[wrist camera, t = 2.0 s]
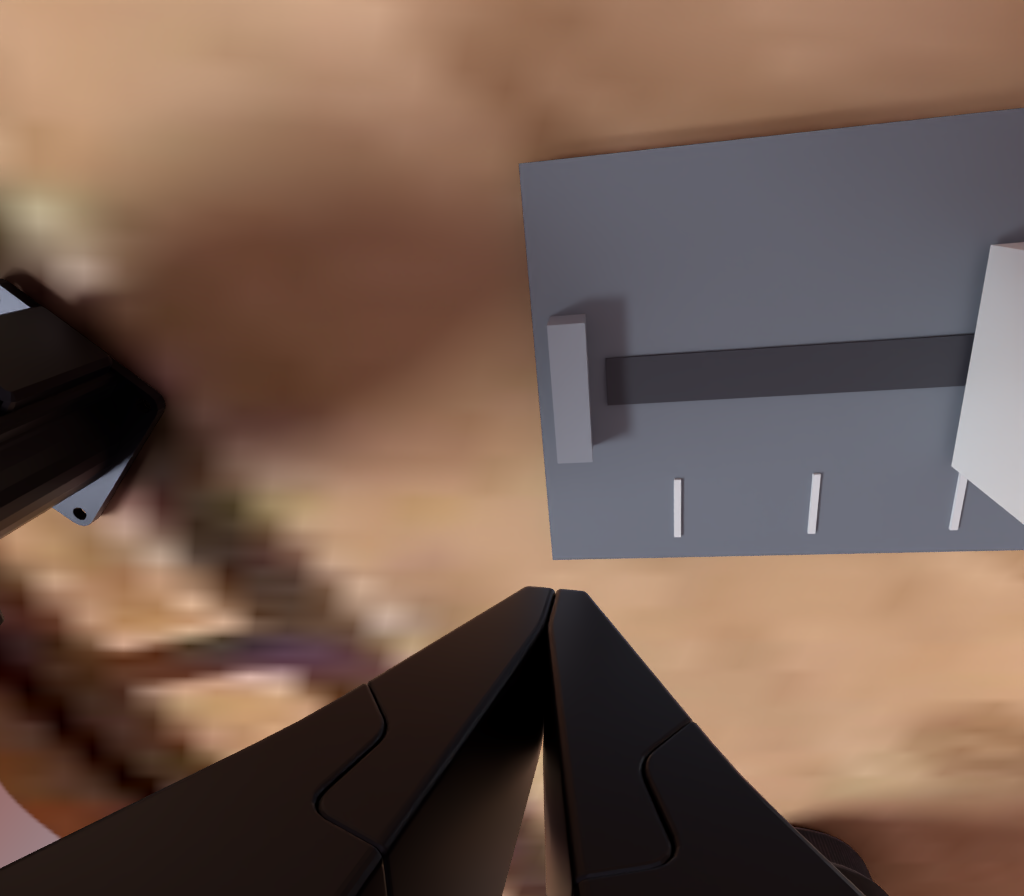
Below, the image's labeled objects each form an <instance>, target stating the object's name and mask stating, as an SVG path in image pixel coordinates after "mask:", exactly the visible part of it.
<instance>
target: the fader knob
mask: <svg viewBox="0 0 1024 896" xmlns="http://www.w3.org/2000/svg"><path fill="white" fill-rule="evenodd" d="M951 466H952V467H953V468H954V469H955V470H957V471H958V472H959V473H960V474H962V475H963V476H964V477H965V478H967V479H968V480H969V481H970V482H971V483H973V484H974V485H975V486H976V487H978V488H979V489H980V490H981V491H983V492H984V493H985V494H986V495H988V496H989V497H990V498H991V499H993V500H994V501H995V502H996V503H998V504H999V505H1000V506H1001V507H1003V508H1004V509H1005V510H1006V511H1008V512H1009V513H1010V514H1011V515H1013V516H1014V517H1015V518H1016V519H1017V520H1019V521H1020V522H1021V523H1022V524H1024V242H1018V243H1006V244H995V245H991V246H990V252H989V258H988V263H987V269H986V274H985V280H984V286H983V291H982V297H981V303H980V308H979V314H978V319H977V325H976V331H975V336H974V342H973V347H972V353H971V359H970V364H969V370H968V375H967V381H966V387H965V392H964V398H963V403H962V409H961V415H960V420H959V426H958V431H957V437H956V443H955V448H954V454H953V459H952V465H951Z"/></svg>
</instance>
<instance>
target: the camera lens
mask: <svg viewBox="0 0 1024 896" xmlns="http://www.w3.org/2000/svg"><path fill="white" fill-rule="evenodd" d="M794 828H795V829H796V830H797V831H798V832H799V833H800V834H801V835H802V836H803V837H804V838H805V839H807V840H808V841H809V842H810V843H811V844H812V845H813V846H814V847H815V848H816V849H817V850H818V851H819V852H820V853H821V854H822V855H823V856H824V857H825V858H826V859H827V860H828V861H830V862H831V863H832V864H833V865H834V866H835V867H836V868H837V869H838V870H839V871H840V872H841V873H842V874H843V875H844V876H845V877H846V878H847V879H848V880H849V881H850V882H851V883H853V884H854V885H855V886H856V887H857V888H858V889H859V890H860V891H861V892H862V893H863V894H864V895H865V896H888V895H887V894H886V892H885V891H884V890H882V889H881V888H880V887H879V886H878V885H877V884H876V883H874V882H873V881H872V878H871V876H870V874H869V872H868V869H867V867H866V865H865V863H864V862H863V860H862V859H861V857H860V856H859V855H858V854H857V853H856V852H855V851H854V850H853V849H852V848H851V847H850V846H849V845H847V844H846V843H844V842H843V841H841V840H839V839H837V838H835V837H833V836H831V835H828V834H825V833H822V832H818V831H814V830H810V829H804V828H798V827H794Z"/></svg>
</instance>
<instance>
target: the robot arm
mask: <svg viewBox="0 0 1024 896" xmlns="http://www.w3.org/2000/svg"><path fill="white" fill-rule="evenodd" d="M144 399H145V400H147V401H148V402H149V404H150V406H151V409H150V408H148V407H147V406H146V405H145V404H144ZM164 409H165V401H164V399H163V397H162V396H161V395H160V394H159V393H158V392H157V391H156V390H155V389H153V388H152V387H151V386H149V385H148V384H147V383H145V382H144V381H143V380H141V379H140V378H138V377H137V376H136V375H134V374H133V373H132V372H130V371H129V370H128V369H126V368H125V367H123V366H122V365H121V364H119V363H118V362H117V361H115V360H114V359H113V358H111V357H110V356H109V355H108V354H107V353H106V352H104V351H103V350H102V349H100V348H99V347H97V346H96V345H95V344H93V343H92V342H91V341H89V340H88V339H87V338H85V337H84V336H83V335H81V334H80V333H78V332H77V331H76V330H74V329H73V328H72V327H70V326H69V325H68V324H66V323H65V322H64V321H62V320H61V319H59V318H58V317H57V316H55V315H54V314H53V313H51V312H50V311H49V310H47V309H46V308H44V307H42V306H41V305H39V304H38V303H37V302H35V301H34V300H32V299H31V298H30V297H28V296H27V295H26V294H24V293H23V292H22V291H20V290H19V289H17V288H16V287H15V286H13V285H12V284H11V283H9V282H8V281H6V280H4V279H0V539H1V538H3V537H5V536H6V535H8V534H10V533H11V532H13V531H14V530H16V529H18V528H19V527H21V526H23V525H24V524H26V523H27V522H29V521H31V520H32V519H34V518H36V517H37V516H39V515H41V514H42V513H44V512H45V511H47V510H49V509H50V508H54V509H55V510H57V511H58V512H60V513H61V514H63V515H64V516H65V517H67V518H68V519H70V520H71V521H73V522H74V523H76V524H78V525H82V526H86V525H89V524H91V523H92V522H94V521H95V520H97V519H98V518H99V517H100V515H101V514H102V512H103V510H104V509H105V507H106V505H107V504H108V502H109V501H110V499H111V497H112V496H113V494H114V492H115V491H116V489H117V487H118V486H119V484H120V482H121V481H122V479H123V478H124V476H125V474H126V473H127V471H128V469H129V468H130V466H131V464H132V463H133V461H134V459H135V458H136V456H137V455H138V453H139V451H140V450H141V448H142V446H143V445H144V443H145V441H146V440H147V438H148V436H149V435H150V433H151V432H152V430H153V428H154V427H155V425H156V423H157V422H158V420H159V418H160V417H161V415H162V413H163V412H164ZM82 509H83V510H84V511H85V512H86V513H84V512H83V511H82ZM3 621H4V616H3V614H2V612H1V610H0V625H1V623H2V622H3ZM543 733H544V736H543ZM542 740H543V778H544V820H545V862H546V896H865V895H864V894H863V893H862V892H861V891H860V890H859V889H858V888H857V887H856V886H855V885H854V884H853V883H851V882H850V881H849V880H848V879H847V878H846V877H845V876H844V875H843V874H842V873H841V872H840V871H839V870H838V869H837V868H836V867H835V866H834V865H833V864H832V863H831V862H830V861H828V860H827V859H826V858H825V857H824V856H823V855H822V854H821V853H820V852H819V851H818V850H817V849H816V848H815V847H814V846H813V845H812V844H811V843H810V842H809V841H808V840H807V839H805V838H804V837H803V836H802V835H801V834H800V833H799V832H798V831H797V830H796V829H795V828H794V827H793V826H792V825H791V824H790V823H789V822H788V821H787V820H786V819H785V818H784V817H782V816H781V815H780V814H779V813H778V812H777V811H776V810H775V809H774V808H773V807H772V806H771V805H770V804H769V803H768V802H767V801H766V800H765V799H764V798H763V796H762V795H761V794H760V793H759V792H758V791H757V790H756V789H755V788H754V787H753V786H752V785H751V784H750V783H749V782H748V781H747V780H746V779H745V778H744V777H743V776H742V775H741V774H740V773H739V772H738V771H737V770H736V769H735V768H734V766H733V765H732V764H731V763H730V762H729V761H728V760H727V759H726V757H725V756H724V755H723V754H722V753H721V752H720V751H719V750H718V748H717V747H716V746H715V745H714V744H713V743H712V742H711V740H710V739H709V738H708V737H707V736H706V734H705V733H704V732H703V731H702V730H701V728H700V727H699V726H698V725H697V724H696V723H694V722H693V721H692V719H691V718H690V717H689V716H688V714H687V713H686V712H685V711H684V710H683V708H682V707H681V706H680V705H679V704H678V702H677V701H676V700H675V699H674V698H673V696H672V695H671V694H670V693H669V692H668V690H667V689H666V688H665V687H664V686H663V684H662V683H661V682H660V681H659V679H658V678H657V677H656V676H655V675H654V673H653V672H652V671H651V670H650V669H649V667H648V666H647V665H646V664H645V663H644V661H643V660H642V659H641V658H640V657H639V655H638V654H637V653H636V652H635V651H634V649H633V648H632V647H631V646H630V645H629V643H628V642H627V641H626V640H625V639H624V637H623V636H622V635H621V634H620V632H619V631H618V630H617V629H616V628H615V626H614V625H613V624H612V623H611V622H610V620H609V619H608V618H607V617H606V616H605V614H604V613H603V612H602V611H601V610H600V608H599V607H598V606H597V605H596V604H595V602H594V601H593V600H592V599H591V598H590V596H589V595H588V594H587V593H586V592H584V591H577V590H566V589H559V590H557V592H556V594H555V592H554V590H553V589H551V588H544V587H533V586H527V587H524V588H523V589H521V590H519V591H518V592H516V593H514V594H513V595H511V596H509V597H508V598H506V599H504V600H503V601H501V602H499V603H498V604H496V605H494V606H493V607H491V608H490V609H488V610H486V611H485V612H483V613H481V614H480V615H478V616H476V617H475V618H473V619H471V620H470V621H468V622H466V623H465V624H463V625H461V626H460V627H458V628H456V629H455V630H453V631H452V632H450V633H448V634H447V635H445V636H443V637H442V638H440V639H438V640H437V641H435V642H433V643H432V644H430V645H428V646H427V647H425V648H423V649H422V650H420V651H418V652H417V653H415V654H414V655H412V656H410V657H409V658H407V659H405V660H404V661H402V662H400V663H399V664H397V665H395V666H394V667H392V668H390V669H389V670H387V671H385V672H384V673H382V674H380V675H379V676H377V677H376V678H374V679H372V680H371V681H369V682H368V684H362V685H360V686H358V687H357V688H355V689H354V690H352V691H350V692H349V693H347V694H345V695H344V696H342V697H340V698H338V699H337V700H335V701H333V702H331V703H330V704H328V705H326V706H324V707H323V708H321V709H319V710H317V711H316V712H314V713H312V714H310V715H309V716H307V717H305V718H303V719H302V720H300V721H298V722H296V723H294V724H292V725H290V726H288V727H286V728H284V729H282V730H280V731H278V732H276V733H274V734H272V735H270V736H269V737H267V738H265V739H263V740H261V741H259V742H257V743H255V744H253V745H251V746H249V747H247V748H245V749H243V750H241V751H239V752H237V753H235V754H233V755H230V756H228V757H226V758H224V759H222V760H220V761H218V762H216V763H214V764H212V765H210V766H208V767H206V768H204V769H202V770H200V771H198V772H196V773H194V774H192V775H190V776H188V777H186V778H184V779H182V780H180V781H177V782H175V783H173V784H171V785H169V786H167V787H165V788H163V789H161V790H159V791H157V792H155V793H153V794H151V795H149V796H147V797H145V798H143V799H141V800H139V801H137V802H135V803H133V804H131V805H129V806H126V807H124V808H122V809H120V810H118V811H116V812H114V813H112V814H110V815H108V816H106V817H104V818H102V819H100V820H98V821H96V822H94V823H92V824H90V825H88V826H86V827H84V828H82V829H80V830H78V831H76V832H73V833H71V834H69V835H67V836H65V837H63V838H61V839H59V840H57V841H55V842H53V843H52V844H49V845H47V846H45V847H43V848H41V849H39V850H37V851H35V852H33V853H31V854H29V855H27V856H25V857H23V858H21V859H18V860H16V861H14V862H12V863H10V864H8V865H6V866H4V867H2V868H0V896H502V893H503V889H504V886H505V882H506V878H507V875H508V871H509V867H510V863H511V860H512V856H513V852H514V848H515V845H516V841H517V837H518V834H519V830H520V826H521V822H522V819H523V815H524V811H525V807H526V804H527V800H528V796H529V793H530V789H531V785H532V781H533V778H534V774H535V770H536V766H537V763H538V759H539V754H540V750H541V746H542Z"/></svg>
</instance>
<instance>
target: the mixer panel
mask: <svg viewBox="0 0 1024 896" xmlns="http://www.w3.org/2000/svg"><path fill="white" fill-rule="evenodd" d="M519 172H520V184H521V196H522V207H523V219H524V230H525V242H526V254H527V265H528V277H529V289H530V300H531V312H532V323H533V335H534V347H535V358H536V370H537V382H538V393H539V405H540V416H541V428H542V440H543V451H544V463H545V475H546V486H547V498H548V509H549V521H550V533H551V544H552V556H553V560H571V559H618V558H666V557H713V556H761V555H808V554H855V553H903V552H950V551H998V550H1024V524H1022V523H1021V522H1020V521H1019V520H1017V519H1016V518H1015V517H1014V516H1013V515H1011V514H1010V513H1009V512H1008V511H1006V510H1005V509H1004V508H1003V507H1001V506H1000V505H999V504H998V503H996V502H995V501H994V500H993V499H991V498H990V497H989V496H988V495H986V494H985V493H984V492H983V491H981V490H980V489H979V488H978V487H976V486H975V485H974V484H973V483H971V482H970V481H969V480H968V479H967V478H965V477H964V476H963V475H962V474H960V473H959V472H958V471H957V470H955V469H954V468H953V467H952V466H951V465H952V459H953V454H954V448H955V443H956V437H957V431H958V426H959V420H960V415H961V409H962V403H963V398H964V392H965V387H966V381H967V375H968V370H969V364H970V359H971V353H972V347H973V342H974V336H975V331H976V325H977V319H978V314H979V308H980V303H981V297H982V291H983V286H984V280H985V274H986V269H987V263H988V258H989V252H990V246H991V245H995V244H1006V243H1018V242H1024V108H1017V109H1008V110H999V111H990V112H981V113H972V114H963V115H954V116H945V117H936V118H927V119H918V120H909V121H900V122H891V123H882V124H873V125H864V126H855V127H846V128H837V129H828V130H819V131H810V132H801V133H792V134H783V135H774V136H765V137H756V138H747V139H738V140H728V141H719V142H710V143H701V144H692V145H683V146H674V147H665V148H656V149H647V150H638V151H629V152H620V153H611V154H602V155H593V156H584V157H575V158H566V159H557V160H548V161H539V162H530V163H521V164H519Z"/></svg>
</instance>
